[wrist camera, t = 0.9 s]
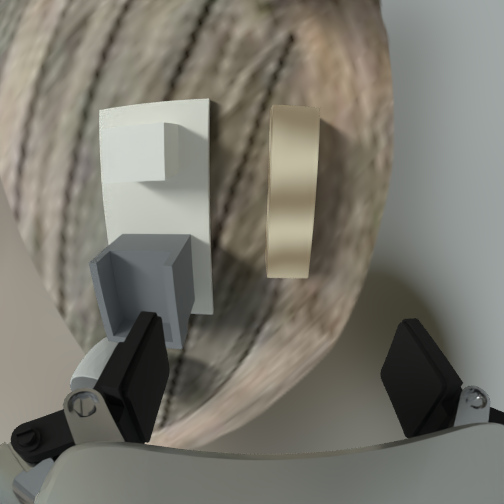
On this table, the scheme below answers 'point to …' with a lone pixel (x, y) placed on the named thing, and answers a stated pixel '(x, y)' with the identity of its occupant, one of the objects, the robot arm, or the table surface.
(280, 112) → the top rail
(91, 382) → the mug
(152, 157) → the cup bracket
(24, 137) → the table surface
